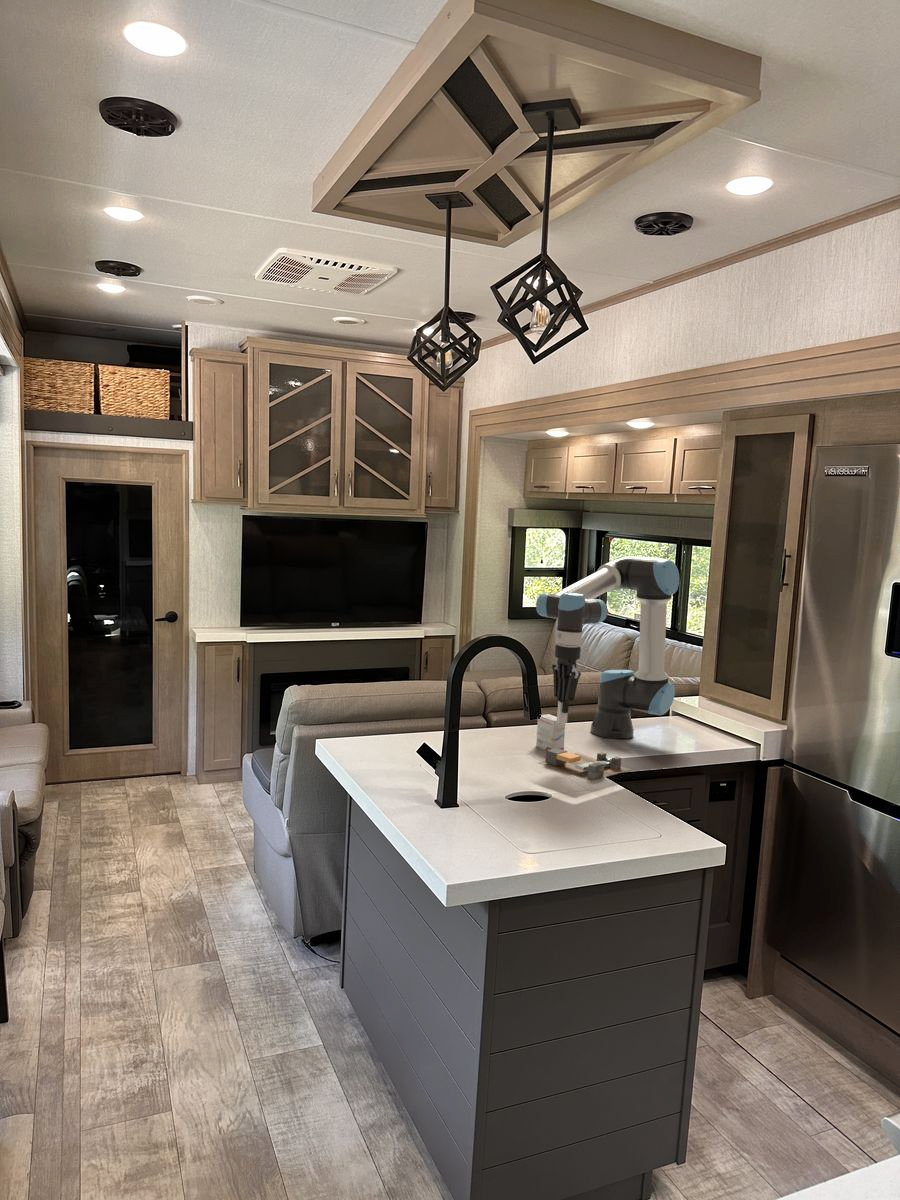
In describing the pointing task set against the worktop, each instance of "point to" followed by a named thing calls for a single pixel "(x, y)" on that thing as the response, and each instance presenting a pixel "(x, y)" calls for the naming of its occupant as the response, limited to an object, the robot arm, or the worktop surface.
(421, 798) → the worktop surface
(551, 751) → the latch
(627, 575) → the robot arm
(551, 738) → the ink box
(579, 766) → the strap
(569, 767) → the board
